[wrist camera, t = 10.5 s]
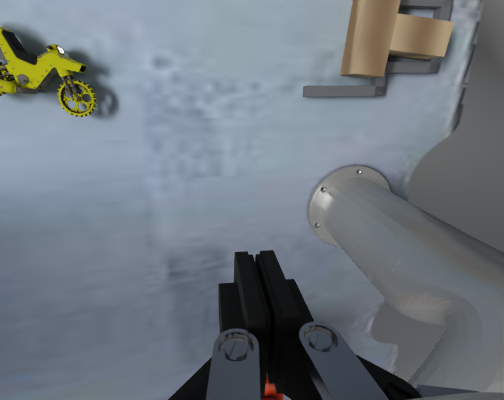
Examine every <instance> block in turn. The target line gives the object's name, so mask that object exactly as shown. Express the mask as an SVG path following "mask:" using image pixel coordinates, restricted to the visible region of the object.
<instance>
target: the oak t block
mask: <svg viewBox="0 0 504 400" xmlns="http://www.w3.org/2000/svg"><path fill="white" fill-rule="evenodd" d="M400 1H401V0H353V3H352V9H351V15H350V21H349V26H348V32H347V38H346V43H345V49H344V55H343V60H342V66H341V72H340V75H343V76H352V77H361V78H372V77H384V72H385V68H386V63H387V59H388V56H391V57H399V58H407V59H415V60H425V59H432V58H439V57H444V56H445V52H446V49H447V45H448V42H449V38H450V35H451V31H452V28H453V24H454V22H451V21H445V20H438V19H431V18H425V17H418V16H412V15H405V14H399V13H398V10H399V5H400Z"/></svg>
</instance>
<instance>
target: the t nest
mask: <svg viewBox="0 0 504 400" xmlns="http://www.w3.org/2000/svg"><path fill="white" fill-rule="evenodd" d="M452 1H453V0H401V1H400V5H399V8H415V9H434V15H433V19H438V20H445V21H448V20H449V15H450V10H451V5H452ZM440 58H441V57H439V58H432V59H425V61H424V62H387V63H386V68H385V72H384V77H372V78H371V86H304V87H303V97H338V96H383V92H384V86H385V79H386V73H437V72H438V67H439V63H440Z"/></svg>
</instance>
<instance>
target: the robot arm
mask: <svg viewBox="0 0 504 400" xmlns="http://www.w3.org/2000/svg"><path fill="white" fill-rule="evenodd" d="M357 170H358V171H357ZM322 187H323V188H322ZM321 188H322V189H321ZM308 220H309V224H310V226H311V228H312V230H313V231H314V232H315V234H316V235H317V236H318V237H319V238H320V239H321V240H323V241H324V242H326V243H328V244H331V245H334V246H340V247H341V248H342V249H343V250H344V251H345V253H346V254H347V255H348V256H349V257H350V258H351V259H352V261H353V262H354V263H355V264H356V265H357V266H358V268H359V269H360V270H361V271H362V272H363V273H364V275H365V276H366V277H367V278H368V279H369V280H370V282H371V283H372V284H373V285H374V286H375V287H376V289H377V290H378V291H379V292H380V293H381V294H382V295H383V296H384V298H385V299H386V300H387V301H388V302H389V303H390V304H391V305H392V306H393V307H394V308H395V309H397V310H398V311H399V312H401V313H402V314H404V315H406V316H408V317H410V318H412V319H415V320H419V321H422V322H426V323H432V324H438V325H446V329H445V332H444V334H443V335H442V337H441V338H440V340H439V341H438V342H437V343H436V345H435V347H434V349H433V350H432V352H431V353H430V354H429V355H428V357H427V358H426V359H425V360H424V362H423V363H422V364H421V365H420V367H419V368H418V369H417V370H416V372H415V373H414V374H413V375H412V377H411V378H410V379H409V380H408V382H406V381H404V380H403V379H401V378H399V377H397V376H395V375H393V374H392V373H390V372H388V371H386V370H384V369H382V368H380V367H378V366H376V365H375V364H373V363H371V362H369V361H367V360H365V359H363V358H361V357H360V356H358V355H356V354H355V353H354V352H353V351H352V349H351V348H350V347H349V345H348V344H347V343H346V341H345V340H344V339H343V337H342V336H341V335H340V333H339V332H338V331H337V330H336V329H335V328H333V327H332V326H330V325H328V324H326V323H323V322H317V321H316V322H314V320H313V318H312V316H311V314H310V311H309V309H308V307H307V305H306V303H305V301H304V299H303V297H302V295H301V292H300V290H299V288H298V286H297V284H296V282H295V280H294V279H285V277H284V274H283V272H282V270H281V267H280V265H279V263H278V260H277V258H276V256H275V253H274V251H273V250H270V251H260V254H256V257H255V261H254V258H253V255H248V252H235V259H234V283H222V284H219V324H220V335H219V336H218V337H217V338H216V340H215V343H214V347H213V353H212V357H211V358H210V359H209V360H208V361H207V362H206V363H205V364H204V365H203V366H202V367H201V368H200V369H199V370H198V371H197V372H196V373H195V374H194V375H193V376H192V377H191V378H190V379H189V380H188V381H187V382H186V383H185V384H184V385H183V386H182V387H181V388H180V389H179V390H178V391H177V392H176V393H174V394H173V395H172V396H171V397H170V398H169V399H168V400H262V399H263V397H264V396H265V385H266V376H268V380H269V383H270V384H275V388H276V393H277V394H281V393H283V394H285V395H286V396H287V397H289V398H290V399H291V400H504V252H501V251H499V250H497V249H495V248H493V247H491V246H489V245H487V244H485V243H483V242H481V241H479V240H477V239H476V238H473V237H471V236H470V235H468V234H466V233H464V232H462V231H461V230H459V229H457V228H455V227H453V226H451V225H449V224H447V223H445V222H444V221H442V220H440V219H438V218H436V217H435V216H433V215H431V214H429V213H427V212H426V211H424V210H422V209H420V208H418V207H416V206H415V205H413V204H411V203H409V202H407V201H406V200H404V199H402V198H400V197H398V196H397V195H395V194H393V193H391V190H390V188H389V185H388V183H387V181H386V180H385V178H384V177H383V176H382V175H381V174H380V173H378V172H377V171H375V170H373V169H371V168H369V167H366V166H362V165H349V166H344V167H341V168H339V169H336V170H334V171H332V172H331V173H329V174H328V175H327V176H325V177H324V178H323V179H322V180H321V181H320V182H319V183H318V185H317V186H316V187H315V189H314V191H313V192H312V194H311V197H310V200H309V203H308Z"/></svg>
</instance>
